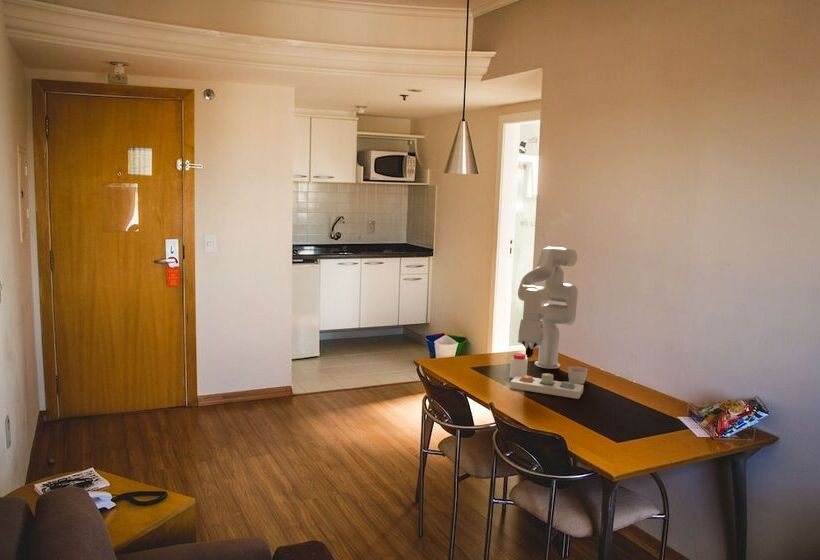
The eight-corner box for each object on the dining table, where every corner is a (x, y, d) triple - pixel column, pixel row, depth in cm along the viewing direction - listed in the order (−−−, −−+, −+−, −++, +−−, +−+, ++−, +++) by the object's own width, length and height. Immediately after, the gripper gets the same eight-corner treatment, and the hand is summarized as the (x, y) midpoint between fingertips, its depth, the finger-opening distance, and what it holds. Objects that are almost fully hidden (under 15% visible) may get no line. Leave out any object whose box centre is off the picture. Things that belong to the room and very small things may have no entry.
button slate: (562, 389, 301) (563, 380, 300) (573, 391, 299) (574, 382, 298) (560, 392, 296) (561, 383, 296) (572, 394, 294) (572, 385, 294)
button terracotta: (522, 383, 308) (522, 374, 307) (533, 385, 306) (533, 376, 305) (519, 386, 303) (520, 377, 302) (530, 387, 301) (531, 379, 300)
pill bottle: (525, 375, 322) (527, 353, 321) (526, 380, 315) (528, 357, 313) (509, 374, 323) (510, 352, 322) (510, 379, 315) (511, 356, 314)
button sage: (542, 381, 304) (543, 372, 303) (553, 383, 302) (554, 374, 301) (540, 384, 299) (540, 375, 299) (551, 386, 297) (552, 377, 297)
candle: (574, 385, 310) (575, 372, 309) (562, 380, 318) (563, 367, 317) (590, 384, 313) (591, 370, 313) (578, 378, 322) (579, 365, 321)
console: (516, 381, 312) (517, 375, 312) (583, 391, 301) (583, 385, 300) (510, 388, 301) (510, 381, 301) (578, 398, 290) (579, 392, 289)
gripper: (550, 316, 301) (547, 357, 304) (517, 313, 306) (514, 352, 309) (546, 320, 294) (544, 361, 297) (512, 316, 299) (510, 356, 302)
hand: (529, 356), depth 303 cm, fingers closed
